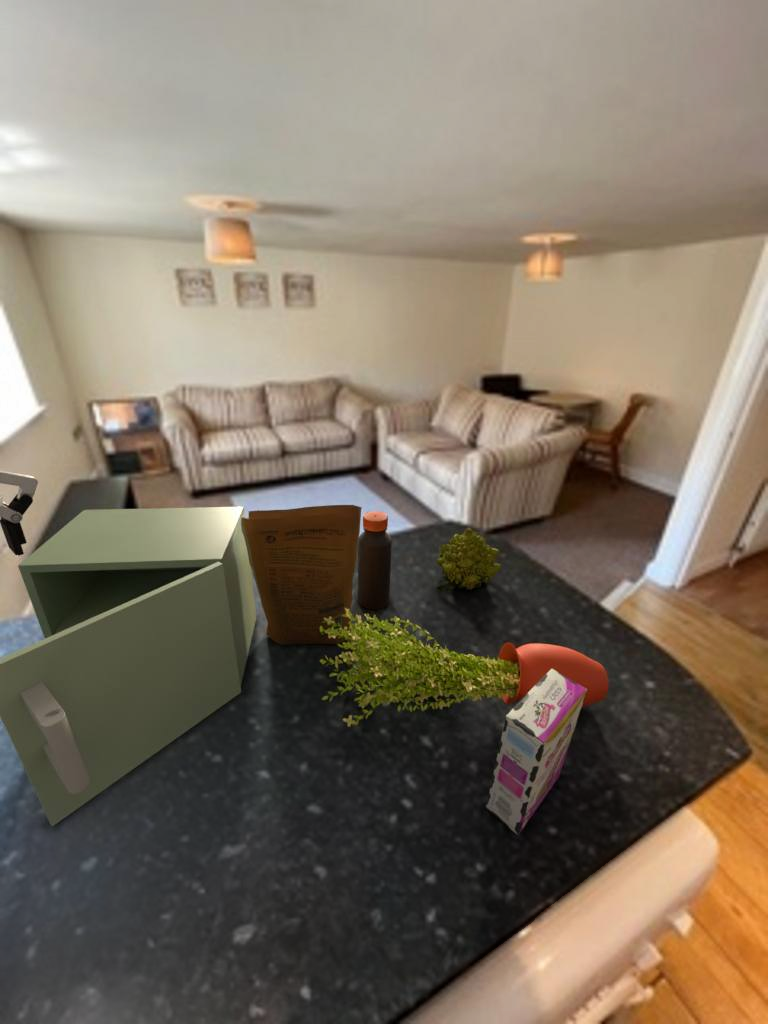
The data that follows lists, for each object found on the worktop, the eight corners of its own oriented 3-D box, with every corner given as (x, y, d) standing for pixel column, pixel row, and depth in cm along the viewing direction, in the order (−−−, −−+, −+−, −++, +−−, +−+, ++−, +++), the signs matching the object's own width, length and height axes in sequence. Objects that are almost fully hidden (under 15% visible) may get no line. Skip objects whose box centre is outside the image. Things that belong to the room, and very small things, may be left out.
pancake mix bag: (360, 650, 82) (361, 511, 70) (254, 652, 80) (237, 511, 69) (360, 626, 88) (361, 494, 76) (262, 627, 87) (247, 494, 75)
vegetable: (433, 590, 93) (449, 520, 94) (424, 587, 108) (438, 527, 110) (502, 607, 92) (517, 537, 94) (484, 602, 108) (497, 541, 110)
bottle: (366, 614, 91) (368, 526, 83) (352, 596, 96) (352, 512, 88) (395, 604, 94) (399, 519, 86) (379, 588, 100) (381, 506, 91)
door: (269, 715, 68) (254, 582, 58) (75, 869, 49) (3, 711, 39) (237, 689, 72) (218, 561, 62) (49, 821, 53) (-23, 668, 43)
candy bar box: (519, 839, 53) (544, 744, 46) (484, 808, 56) (502, 715, 49) (562, 777, 60) (589, 687, 54) (529, 753, 64) (550, 665, 57)
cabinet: (240, 687, 73) (221, 558, 63) (66, 699, 70) (17, 565, 60) (256, 618, 89) (243, 506, 79) (116, 624, 86) (84, 509, 76)
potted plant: (552, 672, 86) (316, 649, 81) (576, 611, 80) (325, 583, 75) (601, 764, 68) (304, 742, 63) (637, 694, 62) (314, 664, 58)
